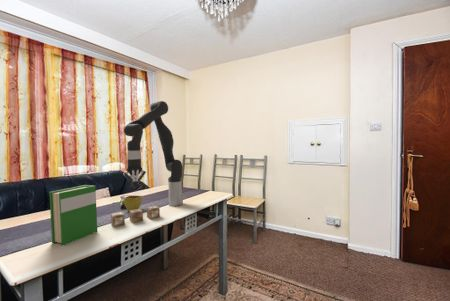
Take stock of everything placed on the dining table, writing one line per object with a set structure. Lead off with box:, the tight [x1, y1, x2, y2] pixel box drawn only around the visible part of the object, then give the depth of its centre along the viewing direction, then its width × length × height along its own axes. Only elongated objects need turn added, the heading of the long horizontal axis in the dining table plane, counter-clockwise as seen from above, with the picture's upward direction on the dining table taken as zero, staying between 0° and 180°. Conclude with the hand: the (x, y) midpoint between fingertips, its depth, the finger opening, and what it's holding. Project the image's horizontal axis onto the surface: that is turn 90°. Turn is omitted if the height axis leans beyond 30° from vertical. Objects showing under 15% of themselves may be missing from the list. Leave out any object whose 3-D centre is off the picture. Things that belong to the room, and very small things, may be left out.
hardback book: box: [49, 184, 98, 246], centre depth 111 cm, size 18×7×24 cm, turn 159°
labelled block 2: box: [146, 205, 161, 220], centre depth 139 cm, size 6×6×6 cm
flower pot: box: [123, 195, 143, 212], centre depth 156 cm, size 9×9×9 cm
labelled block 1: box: [110, 211, 126, 228], centre depth 128 cm, size 6×6×6 cm
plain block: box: [129, 208, 144, 224], centre depth 134 cm, size 6×6×6 cm
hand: (135, 187), depth 133 cm, fingers closed
